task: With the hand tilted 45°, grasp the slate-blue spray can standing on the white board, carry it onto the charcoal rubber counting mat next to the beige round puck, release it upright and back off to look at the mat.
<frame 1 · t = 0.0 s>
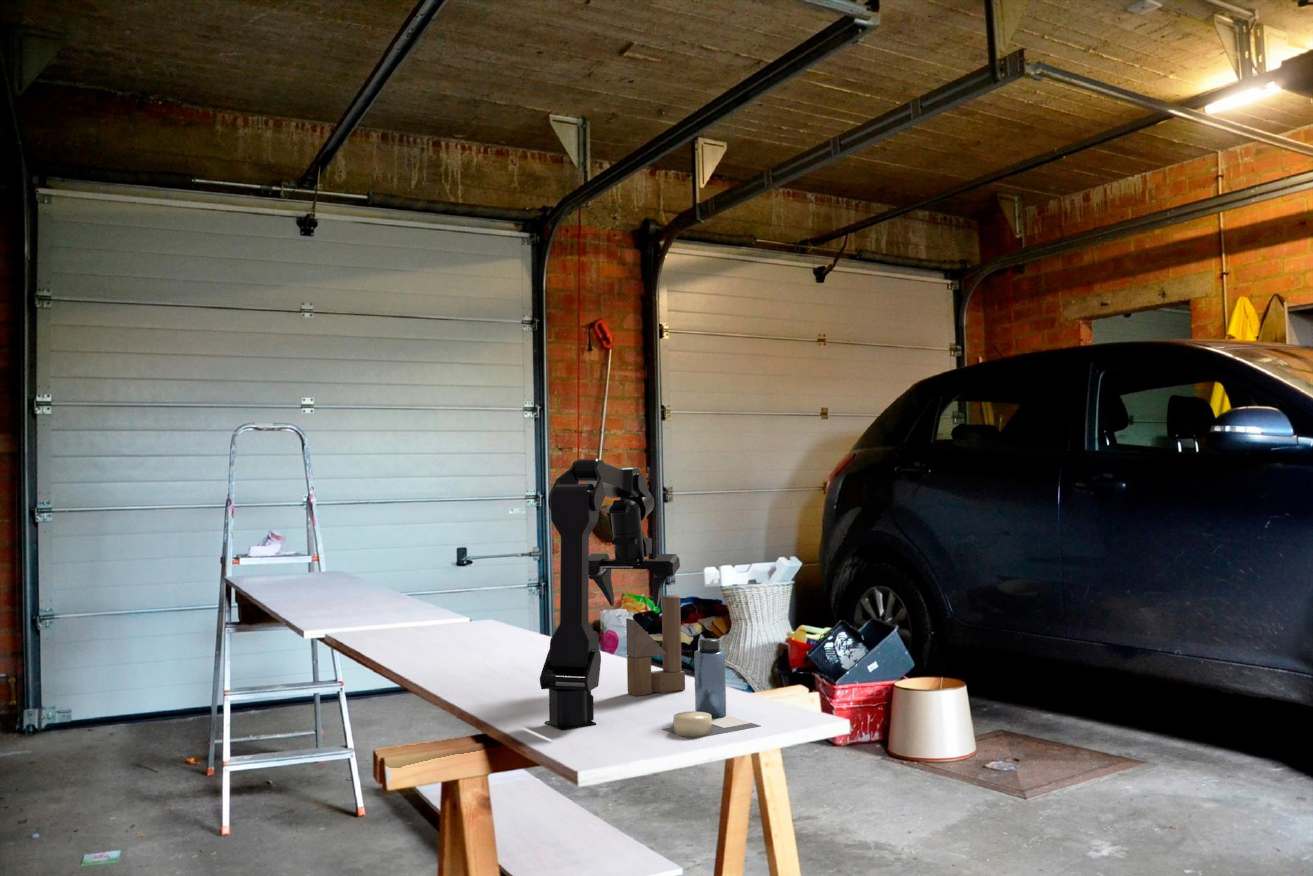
hand: (634, 605, 199), 15 cm above the table, tool pointing down, fingers open, 9 cm apart
beige round puck: (692, 731, 158), resting on counting mat
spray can: (710, 717, 170), on the table
counting mat: (711, 730, 161), on the table
wooden block: (656, 693, 191), on the table
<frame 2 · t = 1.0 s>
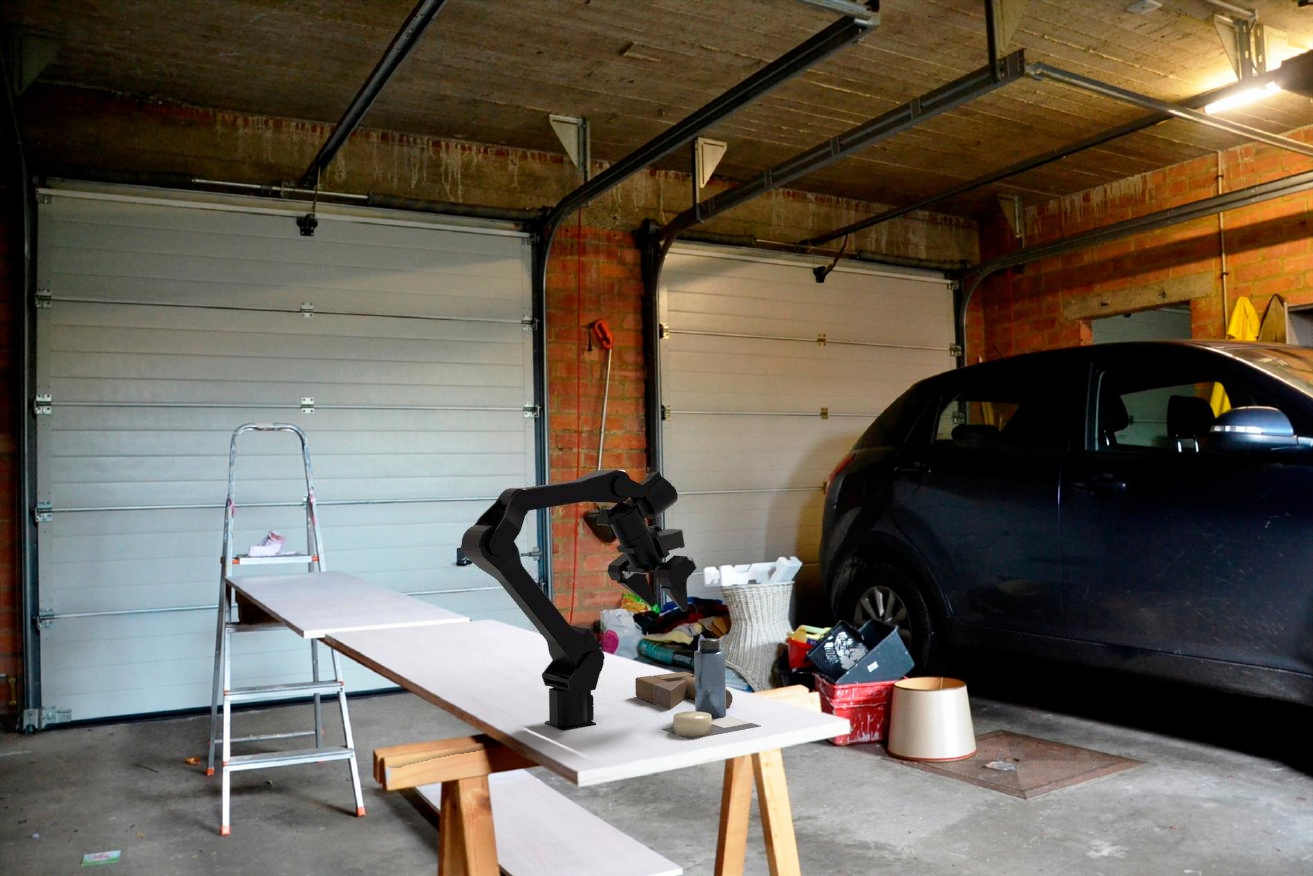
hand: (669, 608, 179), 17 cm above the table, tool tilted 30°, fingers open, 9 cm apart
wooden block: (660, 683, 190), point 2 cm above the table
everything else where it was.
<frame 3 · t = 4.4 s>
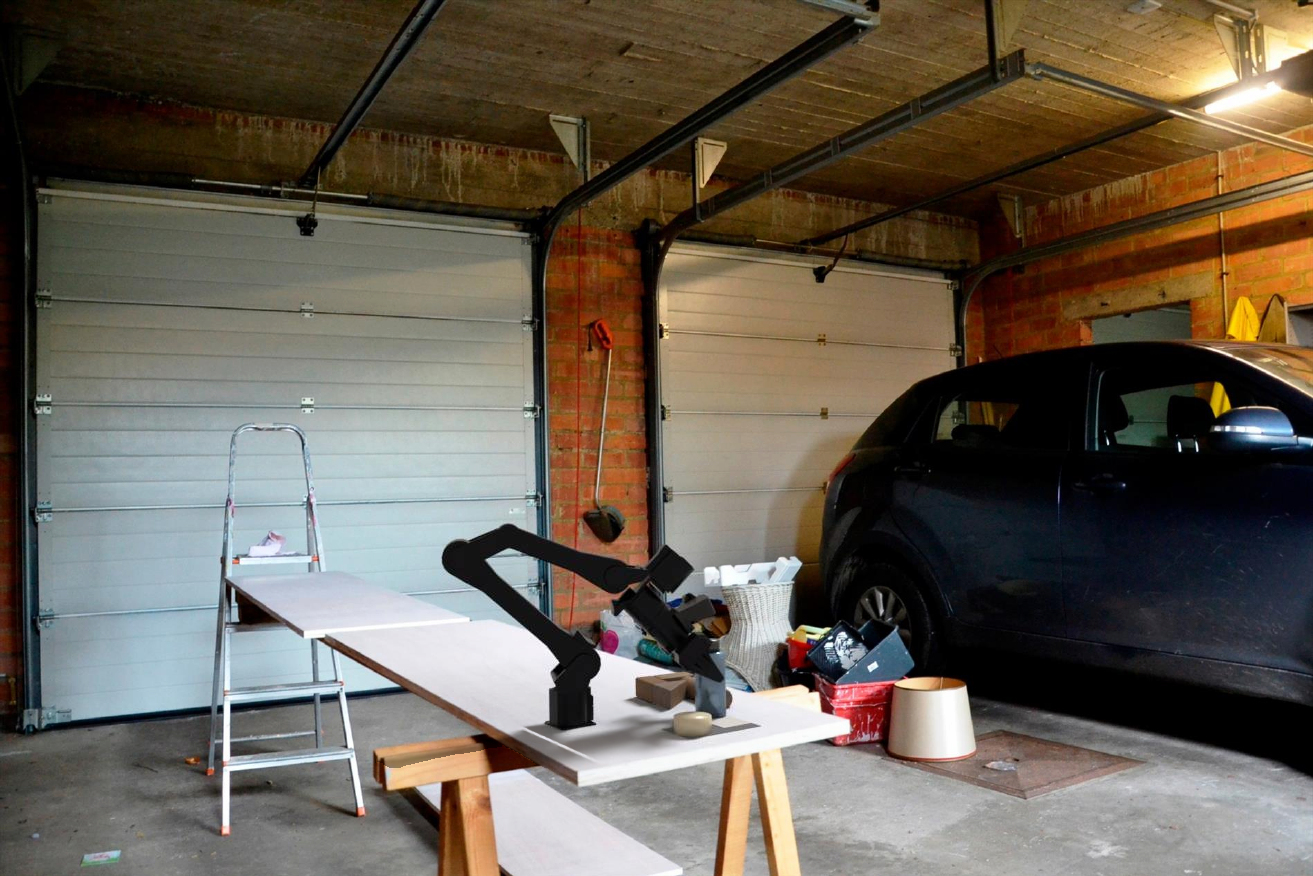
hand: (718, 677, 170), 7 cm above the table, tool tilted 45°, fingers closed on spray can, 5 cm apart
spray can: (710, 717, 170), on the table, touching gripper
everything else where it was.
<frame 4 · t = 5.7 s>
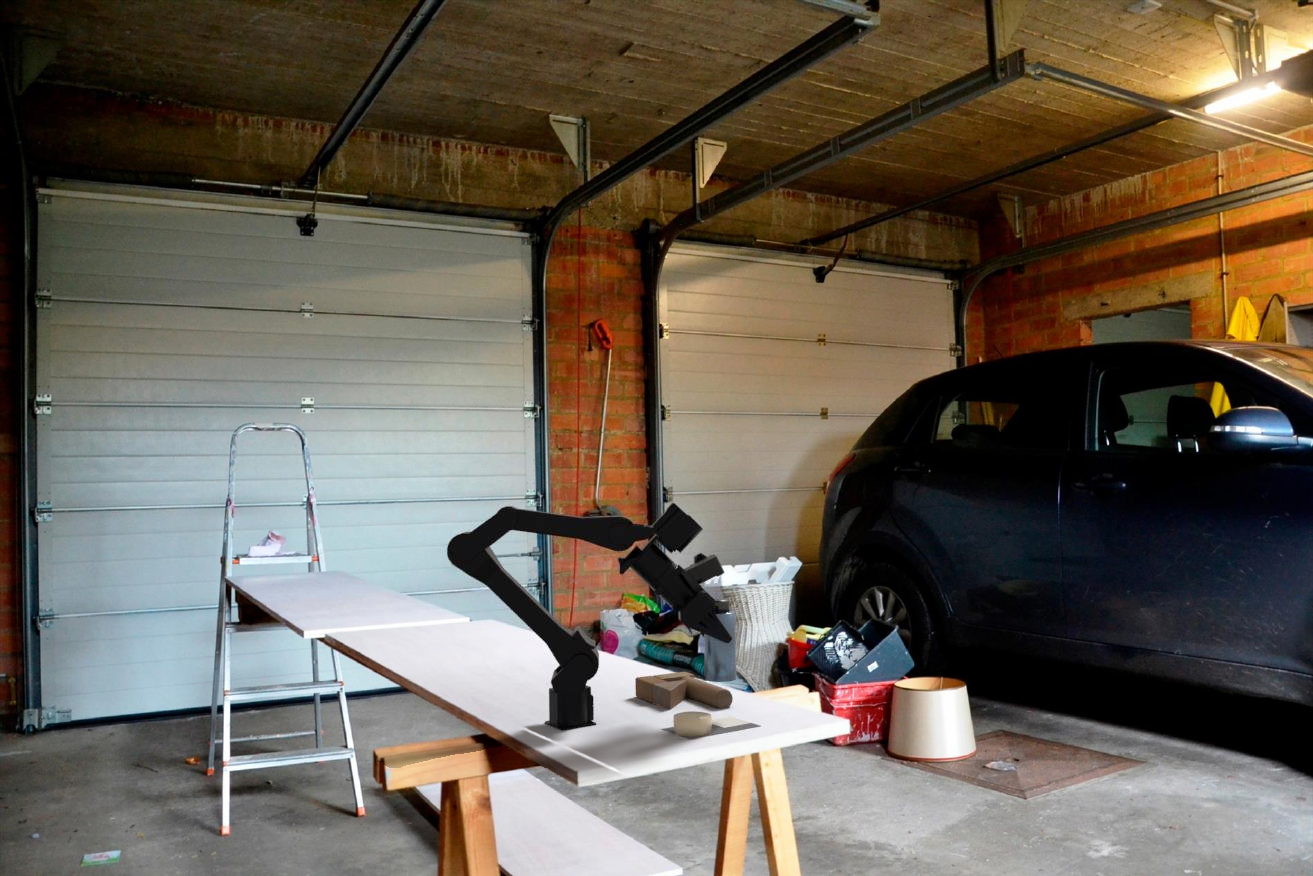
hand: (728, 638, 167), 14 cm above the table, tool tilted 45°, fingers closed on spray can, 5 cm apart
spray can: (720, 679, 167), point 7 cm above the table, touching gripper
everything else where it was.
when the fingers open (8 cm above the table, at t = 7.2 s): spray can drops 1 cm, resting on counting mat.
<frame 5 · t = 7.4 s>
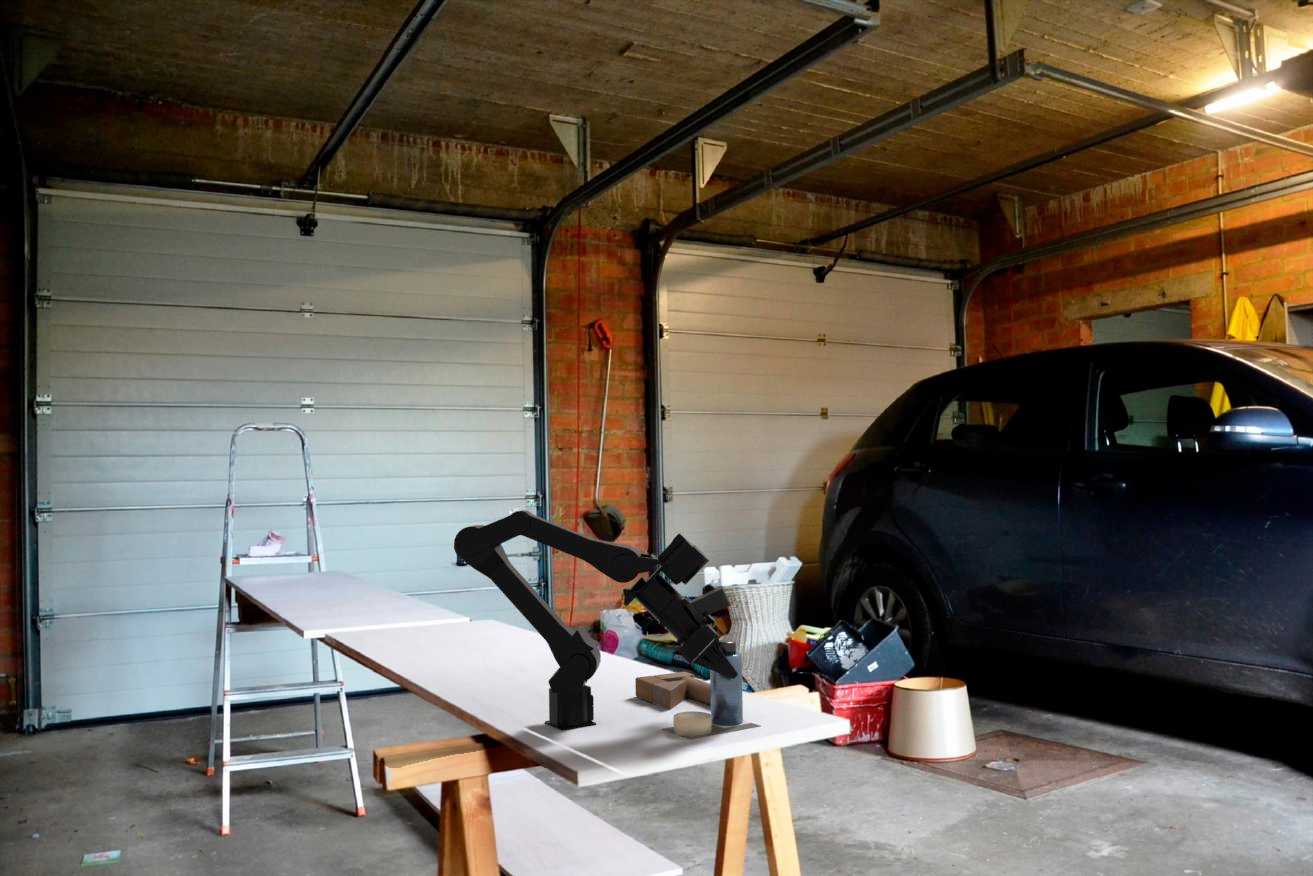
hand: (735, 672, 164), 9 cm above the table, tool tilted 45°, fingers open, 7 cm apart
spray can: (726, 722, 164), point 1 cm above the table, touching counting mat
everything else where it was.
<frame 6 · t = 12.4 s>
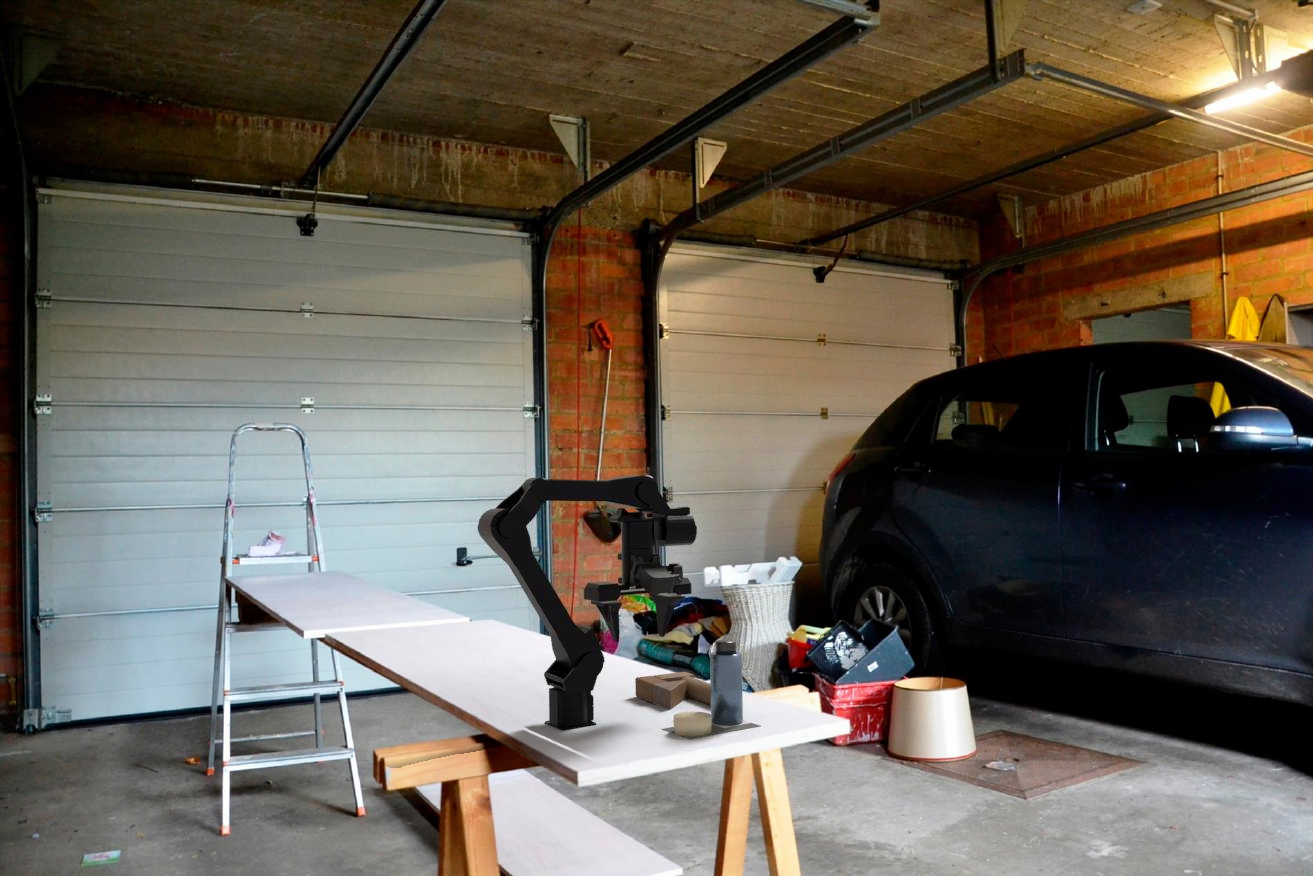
hand: (639, 639, 172), 13 cm above the table, tool pointing down, fingers open, 9 cm apart
nothing on the table moved.
at the end: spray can inside the target area (0.4 cm from its centre), point 0.5 cm above the table; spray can tilted 1°; the gripper is holding nothing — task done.
